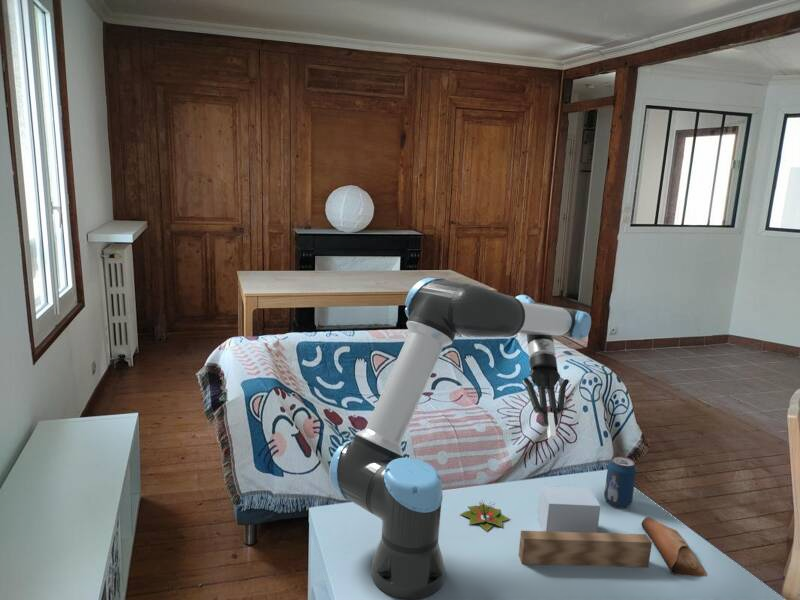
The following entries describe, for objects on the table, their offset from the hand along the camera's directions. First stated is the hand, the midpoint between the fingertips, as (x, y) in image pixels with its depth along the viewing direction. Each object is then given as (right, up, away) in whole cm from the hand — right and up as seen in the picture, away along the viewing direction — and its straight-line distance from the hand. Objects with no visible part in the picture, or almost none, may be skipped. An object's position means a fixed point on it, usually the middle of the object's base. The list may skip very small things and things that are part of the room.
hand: (552, 437), depth 153 cm
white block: (-1, -19, -15) cm, 24 cm away
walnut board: (0, -21, -27) cm, 34 cm away
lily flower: (-20, -18, -11) cm, 29 cm away
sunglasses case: (+22, -22, -21) cm, 37 cm away
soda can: (+17, -17, -1) cm, 24 cm away
